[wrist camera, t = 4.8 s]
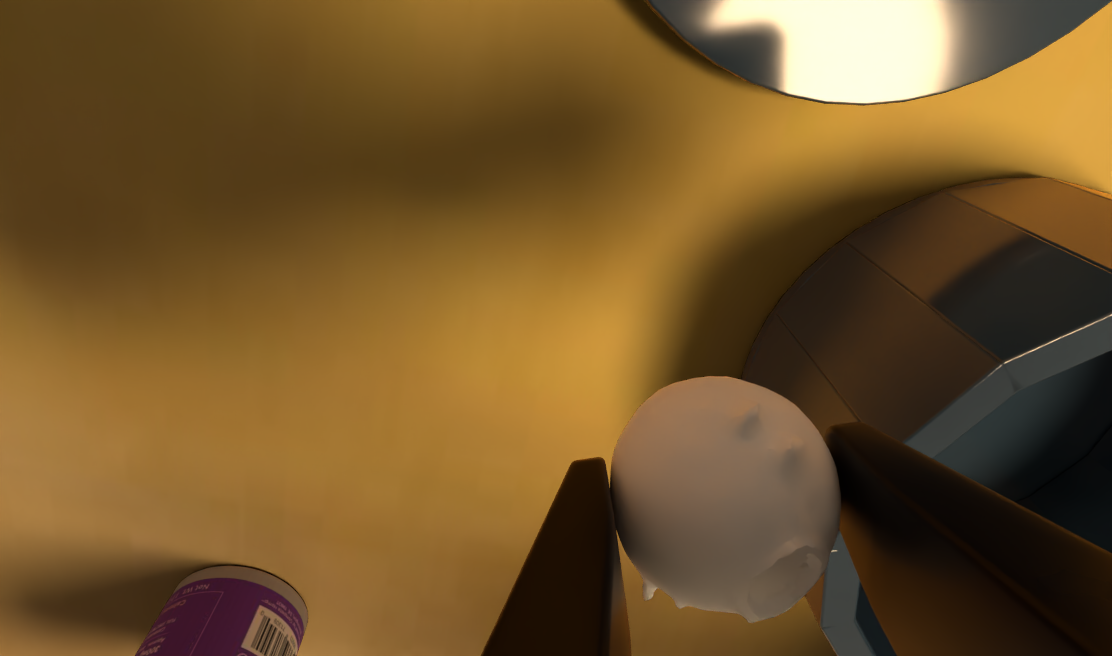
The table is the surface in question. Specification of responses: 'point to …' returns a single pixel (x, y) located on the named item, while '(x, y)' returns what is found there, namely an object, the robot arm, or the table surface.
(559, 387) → the table surface
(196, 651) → the container
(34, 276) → the table surface
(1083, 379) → the canister
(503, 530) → the table surface
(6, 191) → the table surface
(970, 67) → the lid
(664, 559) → the white piggy bank
